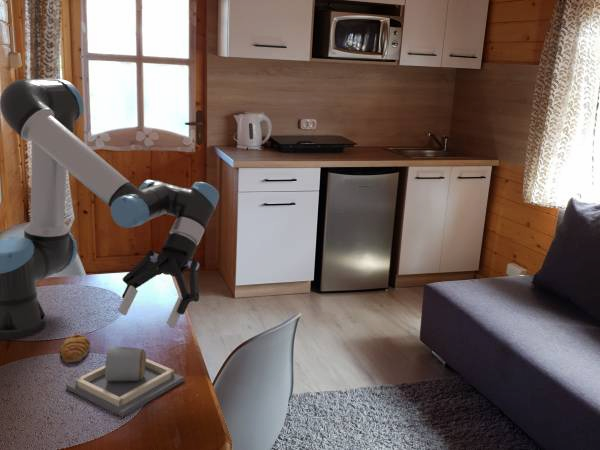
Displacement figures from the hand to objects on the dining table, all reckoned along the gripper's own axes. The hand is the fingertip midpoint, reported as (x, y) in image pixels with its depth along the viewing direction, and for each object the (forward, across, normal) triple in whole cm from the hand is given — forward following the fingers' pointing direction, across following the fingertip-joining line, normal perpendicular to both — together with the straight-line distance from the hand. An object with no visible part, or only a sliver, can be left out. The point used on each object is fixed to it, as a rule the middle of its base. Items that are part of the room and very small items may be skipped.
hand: (145, 319), depth 137 cm
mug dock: (+14, 0, -5) cm, 15 cm away
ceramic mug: (+12, +2, -5) cm, 14 cm away
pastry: (+10, +21, -10) cm, 25 cm away
